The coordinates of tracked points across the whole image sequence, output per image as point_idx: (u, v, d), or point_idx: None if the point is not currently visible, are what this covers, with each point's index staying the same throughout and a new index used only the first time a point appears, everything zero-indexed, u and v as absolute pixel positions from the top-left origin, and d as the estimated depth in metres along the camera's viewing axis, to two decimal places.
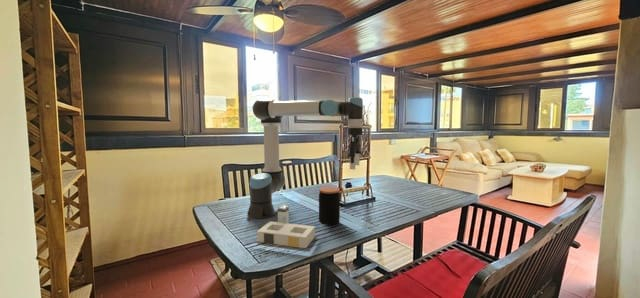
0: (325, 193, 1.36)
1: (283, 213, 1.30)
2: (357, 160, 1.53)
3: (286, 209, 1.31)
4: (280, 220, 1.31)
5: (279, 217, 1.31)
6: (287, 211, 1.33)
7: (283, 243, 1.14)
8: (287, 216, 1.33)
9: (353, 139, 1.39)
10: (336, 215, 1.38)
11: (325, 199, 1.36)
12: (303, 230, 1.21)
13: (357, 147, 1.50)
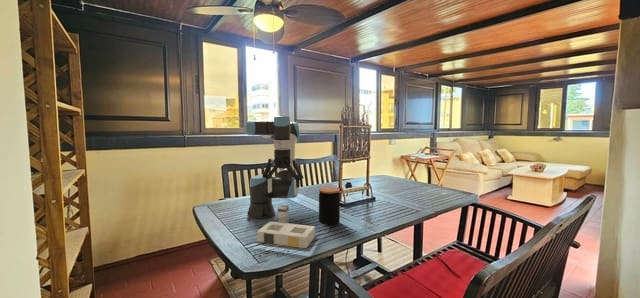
0: (325, 193, 1.36)
1: (283, 213, 1.30)
2: None
3: (286, 209, 1.31)
4: (280, 220, 1.31)
5: (279, 217, 1.31)
6: (287, 211, 1.33)
7: (283, 243, 1.14)
8: (287, 216, 1.33)
9: None
10: (336, 215, 1.38)
11: (325, 199, 1.36)
12: (303, 230, 1.21)
13: None
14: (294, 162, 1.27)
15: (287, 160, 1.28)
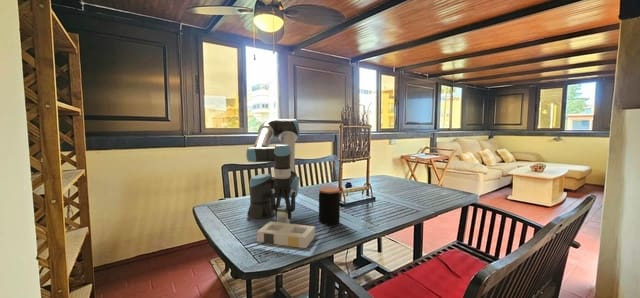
0: (325, 193, 1.36)
1: (283, 213, 1.30)
2: None
3: (286, 209, 1.31)
4: (280, 220, 1.31)
5: (279, 217, 1.31)
6: None
7: (283, 243, 1.14)
8: None
9: None
10: (336, 215, 1.38)
11: (325, 199, 1.36)
12: (303, 230, 1.21)
13: None
14: (293, 194, 1.29)
15: (288, 189, 1.29)
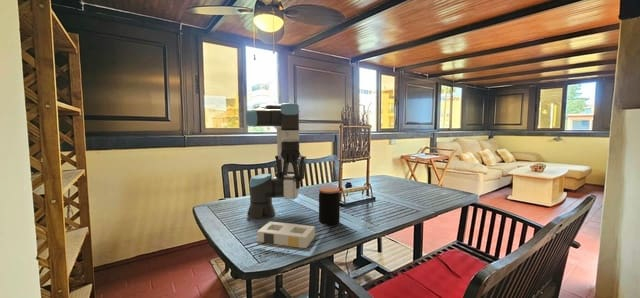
0: (325, 193, 1.36)
1: (291, 181, 1.14)
2: None
3: (294, 177, 1.15)
4: (287, 190, 1.15)
5: (286, 186, 1.15)
6: None
7: (283, 243, 1.14)
8: None
9: None
10: (336, 215, 1.38)
11: (325, 199, 1.36)
12: (303, 230, 1.21)
13: None
14: (302, 159, 1.13)
15: (296, 153, 1.13)
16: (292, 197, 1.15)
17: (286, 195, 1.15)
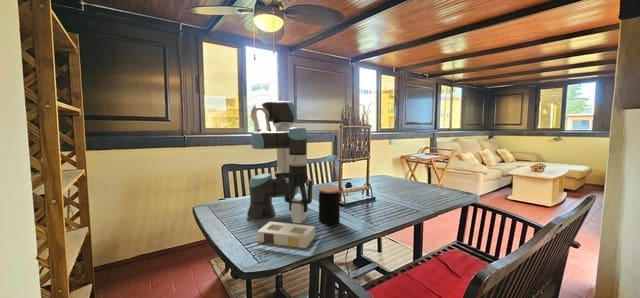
0: (325, 193, 1.36)
1: (299, 205, 1.14)
2: None
3: (302, 201, 1.15)
4: (294, 214, 1.15)
5: (294, 210, 1.15)
6: None
7: (283, 243, 1.14)
8: None
9: None
10: (336, 215, 1.38)
11: (325, 199, 1.36)
12: (303, 230, 1.21)
13: None
14: (310, 184, 1.13)
15: (304, 177, 1.14)
16: (300, 221, 1.15)
17: (294, 219, 1.16)
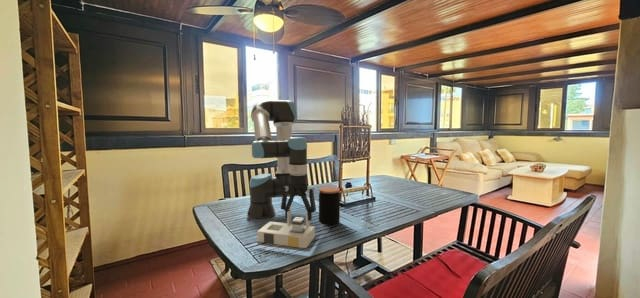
0: (325, 193, 1.36)
1: (299, 226, 1.15)
2: None
3: (302, 222, 1.16)
4: None
5: (294, 231, 1.16)
6: (303, 224, 1.18)
7: (283, 243, 1.14)
8: (303, 229, 1.18)
9: None
10: (336, 215, 1.38)
11: (325, 199, 1.36)
12: None
13: None
14: (311, 192, 1.13)
15: (304, 187, 1.14)
16: None
17: None
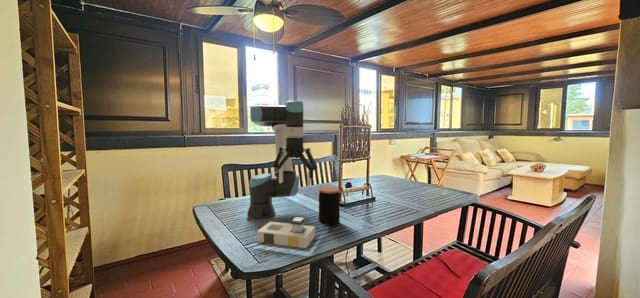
0: (325, 193, 1.36)
1: (299, 226, 1.15)
2: None
3: (302, 222, 1.16)
4: None
5: (294, 231, 1.16)
6: (303, 224, 1.18)
7: (283, 243, 1.14)
8: (303, 229, 1.18)
9: None
10: (336, 215, 1.38)
11: (325, 199, 1.36)
12: None
13: None
14: (308, 151, 1.18)
15: (300, 149, 1.19)
16: None
17: None
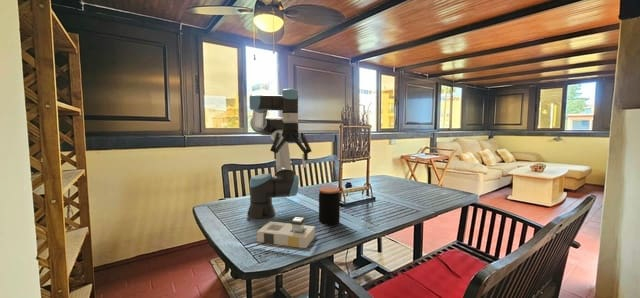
0: (325, 193, 1.36)
1: (299, 226, 1.15)
2: None
3: (302, 222, 1.16)
4: None
5: (294, 231, 1.16)
6: (303, 224, 1.18)
7: (283, 243, 1.14)
8: (303, 229, 1.18)
9: None
10: (336, 215, 1.38)
11: (325, 199, 1.36)
12: None
13: None
14: (302, 135, 1.28)
15: (295, 133, 1.29)
16: None
17: None
